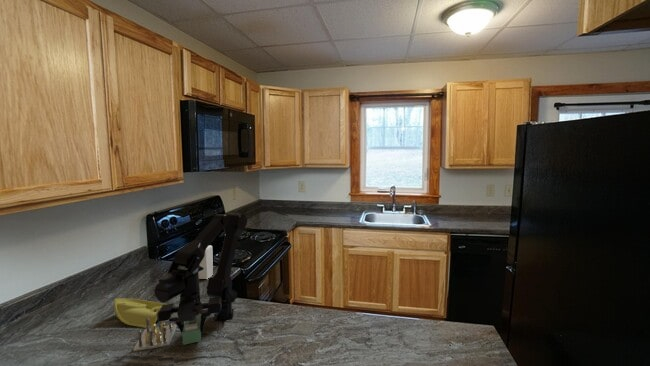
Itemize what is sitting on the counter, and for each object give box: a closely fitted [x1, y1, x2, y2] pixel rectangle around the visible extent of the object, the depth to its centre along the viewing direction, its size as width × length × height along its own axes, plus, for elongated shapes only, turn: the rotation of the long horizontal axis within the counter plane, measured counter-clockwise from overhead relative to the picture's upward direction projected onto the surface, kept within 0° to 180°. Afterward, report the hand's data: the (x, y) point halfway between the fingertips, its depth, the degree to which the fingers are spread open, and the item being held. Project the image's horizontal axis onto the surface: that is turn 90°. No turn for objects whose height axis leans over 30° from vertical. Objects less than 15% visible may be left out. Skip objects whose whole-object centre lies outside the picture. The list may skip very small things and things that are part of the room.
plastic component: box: [113, 297, 166, 329], centre depth 110 cm, size 20×7×10 cm
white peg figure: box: [198, 244, 214, 280], centre depth 145 cm, size 6×6×22 cm
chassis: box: [132, 318, 178, 352], centre depth 97 cm, size 11×10×5 cm
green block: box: [181, 316, 203, 346], centre depth 96 cm, size 8×5×5 cm, turn 18°
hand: (192, 333), depth 96 cm, fingers closed on green block, 5 cm apart
